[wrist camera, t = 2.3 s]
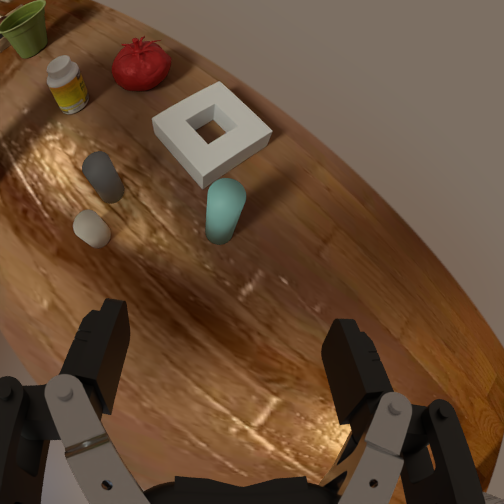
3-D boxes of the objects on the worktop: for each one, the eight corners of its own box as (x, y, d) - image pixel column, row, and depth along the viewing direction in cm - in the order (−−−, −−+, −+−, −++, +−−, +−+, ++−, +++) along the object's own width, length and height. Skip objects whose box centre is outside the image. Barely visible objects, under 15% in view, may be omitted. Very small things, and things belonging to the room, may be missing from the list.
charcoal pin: (108, 208, 38) (90, 184, 30) (96, 190, 38) (77, 164, 30) (129, 192, 39) (115, 165, 31) (116, 175, 39) (101, 146, 31)
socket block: (202, 189, 41) (203, 176, 37) (154, 134, 41) (151, 118, 37) (266, 145, 44) (272, 131, 40) (217, 97, 44) (219, 81, 41)
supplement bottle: (93, 105, 41) (77, 64, 31) (64, 120, 39) (43, 82, 30) (86, 86, 41) (71, 47, 32) (59, 101, 40) (40, 63, 30)
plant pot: (62, 44, 43) (49, 7, 32) (16, 73, 40) (-2, 39, 29) (51, 27, 44) (41, -6, 33) (10, 53, 41) (-4, 23, 30)
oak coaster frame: (-14, 63, 39) (-19, 55, 36) (-18, 42, 40) (-22, 35, 37) (35, 28, 43) (31, 18, 40) (25, 12, 44) (22, 4, 41)
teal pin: (217, 250, 39) (224, 220, 28) (199, 229, 39) (199, 192, 28) (238, 233, 40) (253, 198, 28) (220, 212, 40) (229, 171, 29)
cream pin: (95, 253, 36) (82, 244, 31) (82, 233, 36) (68, 222, 32) (115, 236, 37) (104, 225, 32) (102, 217, 37) (90, 203, 33)
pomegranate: (151, 105, 42) (145, 65, 33) (104, 91, 42) (93, 53, 33) (182, 68, 45) (182, 29, 36) (137, 56, 44) (132, 19, 35)
